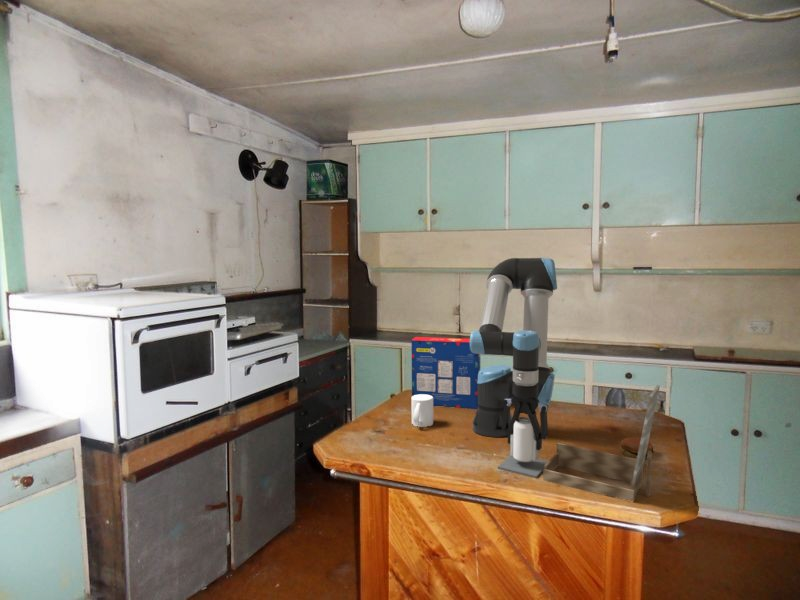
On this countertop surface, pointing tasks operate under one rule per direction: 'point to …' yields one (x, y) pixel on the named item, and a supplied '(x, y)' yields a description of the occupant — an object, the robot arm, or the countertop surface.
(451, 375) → the blue board game box
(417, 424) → the mug
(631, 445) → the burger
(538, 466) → the mat
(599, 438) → the countertop surface
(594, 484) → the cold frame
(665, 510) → the countertop surface
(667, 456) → the countertop surface
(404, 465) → the countertop surface
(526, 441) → the can
